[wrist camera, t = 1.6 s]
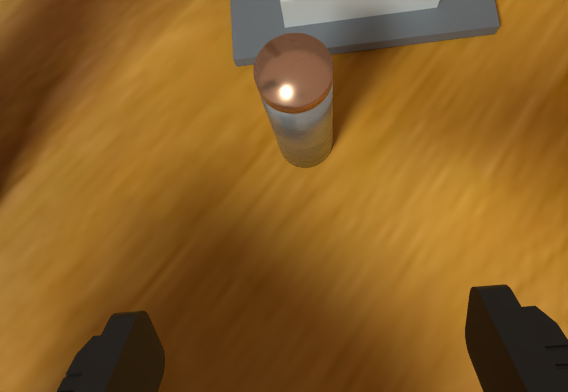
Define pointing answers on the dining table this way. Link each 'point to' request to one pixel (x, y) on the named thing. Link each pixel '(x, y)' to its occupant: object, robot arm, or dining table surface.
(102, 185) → the dining table surface
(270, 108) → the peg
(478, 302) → the robot arm
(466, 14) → the dock
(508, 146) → the dining table surface
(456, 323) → the dining table surface
